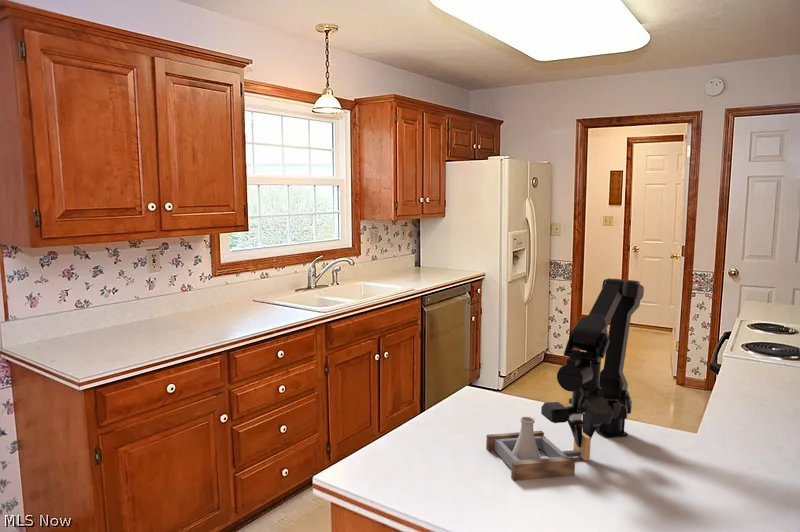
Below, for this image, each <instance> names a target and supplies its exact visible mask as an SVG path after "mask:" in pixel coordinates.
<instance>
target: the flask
mask: <svg viewBox="0 0 800 532" xmlns="http://www.w3.org/2000/svg"><path fill="white" fill-rule="evenodd" d="M520 423H521V427H520V431H519V432H520V435H519V437H518V439H517V442H516V444H515V447H514V449H513V451H511V452H512V453H513V454H514V455H515V456H516V457H517V458H518V459H519V460H528V459H540V458H541V455H540V452H539V449H538V448H537V445H536V442H535V438H534V433H533V431H534V424H535V417H531V416H525V415H524V416H521V417H520Z"/></svg>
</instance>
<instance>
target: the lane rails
mask: <svg viewBox="0 0 800 532" xmlns="http://www.w3.org/2000/svg"><path fill="white" fill-rule="evenodd" d="M533 433H534V436H545V432H544V431H542V430H535V431H534V430H533ZM519 435H520V431H519V432H508V433H507V432H505V433H493V434H486V441H485V442H486V444H485V446H486V447H485V449H486V451H487V452H492V451H494V452H496V451H495V450H494V445H495V439H505V438H518V437H519ZM575 467H576V459H575V457H569V458H558V459H547V460H535V461H523V462H512V469H511V468H510V470H511V472H510V474H511V475H510V479H511V480H512V482H516V481H517V482H518V481H525V480H526V481H527V480H537V479H548V478H560V477H561V478H562V477H573V476H575V474H576V473H575V471H576V468H575Z"/></svg>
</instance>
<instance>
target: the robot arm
mask: <svg viewBox="0 0 800 532" xmlns="http://www.w3.org/2000/svg"><path fill="white" fill-rule="evenodd" d="M644 294H645V287H644V285H642V284H641V282H640V281H639V280H632V279H621V278H610V277H609V278H605V279H603V281H602V286H601V290H600V292H599V294H598V296H597V297H596V300H595V302H594V304H593V305H592V308H591V310H590V311H589V313H588V315H587V316H585V317H583V318H580V319H579V320H578V321H577V323H576V324H575V326H574V327H573V328H572V329H571V330H570V332H569V336H568V339H567V343H566V346H565V349H564V353H563V356H564V357H568V358H567V359H566V364H564V365H562V366H561V367H560V368H559V369H558V371H557V373H556V380H557V383H558V385H559V386H560V387H561V388H562V389H563V390H565V391H567V392H572V394H571V398H569V399H568V403H569V404H570V405H571V406H564V405H563V404H562V403H560V402H558V401H550V402H548V401H547V402H544V403H543V404H542V405H541V412H540V413H541V414H540V415H542V416H543V417H544V418H545V419H547V420H548V421H549V422H551V423H553V424H559V423H566V422H567V424H568V426H569V427H570V430H571V433H572V436H573V440H574V439H575V442H576V445H577V446H578V447H579V448H580V447H581V442H582V432H584V433H585V434H586V435H588V436H589V437H590V438H591V439H592V437H593V436H594V434H595V432H597V433H598V434H600V435H601V436H603V438H616V437H627V436H628V435H629V433H628V432H627V431H625V426H626V425H625V424H626V423H625V421H626V420H627V419H628V414H632V404H633V401H632V398H631V396H630V393H629V390H628V381H627V379H626V376H625V374H624V365H625V358H626V352H627V345H628V339H629V334H630V333H629V332H630V331H629V330H630V325H631V318H632V315H633V314H634V313H635V312H636V310H637V309H638V308H640V304H641V300H642V299H643V298H644ZM608 327H609V329H608ZM608 330H609V331H608ZM602 359H604V363H603V369H602V370H601V367H602V366H601V365H602Z"/></svg>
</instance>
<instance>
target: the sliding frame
mask: <svg viewBox="0 0 800 532" xmlns="http://www.w3.org/2000/svg"><path fill="white" fill-rule="evenodd" d="M534 438H535V442H536V445H537V448H538V450H542V451H543V452H544V453H545V454H546V455H547V456H548V457H544V458H543V457H542V458H541V457H540V459H528V460H519V459H518V458H517V457H516V456H515V455H514V454H513V453H512V451H513V449H514V447H515V444H516V442H517V439H518V438H505V439H495V445H494V450H495V451H494V452H495V453H497V455H498V456H499V457H500V458H501V460H502V461H504V463H505V464H506V465H507V466H508V467H509V468H510V470H511V469H512V462H523V461H535V460H547V459H558V458H570V457H573V458H577V457H580V458H581V459H582V460H584V461H590V459H591V456H590V455H591V443H592V442H591V441H592V438H590V437H589V436H588V435H586V434H585V433H584V432H583V431H582V442H581V447H580V448H579V447H578V446H577V445H576V442H575V439H574V438H573V450H561V449H560V448H558V447H557V446H556V445H555V444H554V443H553V442H552V441H551V440H550V439H548V438H547V437H546V436H545V435H544V436H534Z"/></svg>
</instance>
